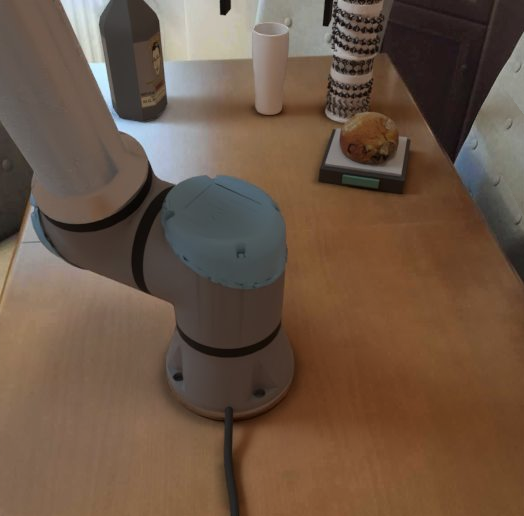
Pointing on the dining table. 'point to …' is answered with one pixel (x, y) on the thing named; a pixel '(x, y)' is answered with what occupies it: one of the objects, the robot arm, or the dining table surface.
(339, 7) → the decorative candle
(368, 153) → the bread roll
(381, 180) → the kitchen scale
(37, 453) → the dining table surface
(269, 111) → the drinking glass
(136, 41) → the liquor
